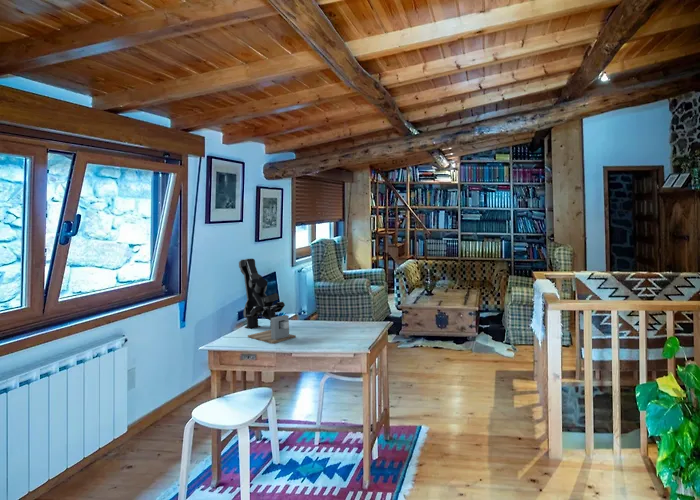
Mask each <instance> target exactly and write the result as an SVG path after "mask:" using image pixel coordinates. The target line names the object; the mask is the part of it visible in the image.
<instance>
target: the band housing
mask: <svg viewBox="0 0 700 500" xmlns="http://www.w3.org/2000/svg"><path fill="white" fill-rule="evenodd" d="M289 319H290V317H289V315H286V314H284V315H278V316H276V317H273V318H271V321H270V320H269V322H270V325H269V326H270V327H269V328H270V330H271V339H274V340H277V339H281V338H285V337H288V336H289V334H290V327H289V328H286V329H283V328H279V321H282V320H283V321H288V322H289V321H290V320H289ZM289 323H290V322H289Z"/></svg>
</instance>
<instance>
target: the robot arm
mask: <svg viewBox="0 0 700 500" xmlns="http://www.w3.org/2000/svg"><path fill="white" fill-rule="evenodd" d="M238 268H239V269H240V272H241V273H242V275H243V277H244V285H245V292H246V294H245V295H246V302H245V304H244V308H243V318H245V319H246V325H245V326H244V328H246V329H251V330H252V329H253V330H254V329H256V328H261V325H259V317H263V318H264V319H267V320H268V321H269V322H270V321H271V318H273V317H277V316H276V313H280V312H281V311H282V310H284V308H285V306H286V305H285V303H284V301H279V302H278V300H279V298H280V297H279V294H278V293H277V292H275V293H274V292H273V294H270V295H269V294H268V295H267V294H266V291H267V287H268V281H267V280H266V279H265V278H263V276H262V275H261V274H259V272H258V269H257V265H256V260H255V259H254V258H245V259H240V260H239V261H238ZM276 301H277V302H276ZM275 302H276V303H275Z"/></svg>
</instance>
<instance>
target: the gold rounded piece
mask: <svg viewBox="0 0 700 500" xmlns="http://www.w3.org/2000/svg"><path fill="white" fill-rule="evenodd" d="M279 328H283V329H286V328H289V329H290V322H288V321H283V320H282V321H279Z"/></svg>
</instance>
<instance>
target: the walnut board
mask: <svg viewBox="0 0 700 500" xmlns="http://www.w3.org/2000/svg"><path fill="white" fill-rule="evenodd" d="M296 337H297V336H296V334H291V333H289V336H288V337H285V338H281V339H277V340H274V339H271V329H269V330H268V329H267V330H264V331H260V332H256V333H251V334H248V335H247V338H249V339H253V340H257V341H261V342H264V343H268V344H272V345H273V344H276V343H280V342H284V341H288V340H291V339H295V338H296Z"/></svg>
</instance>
